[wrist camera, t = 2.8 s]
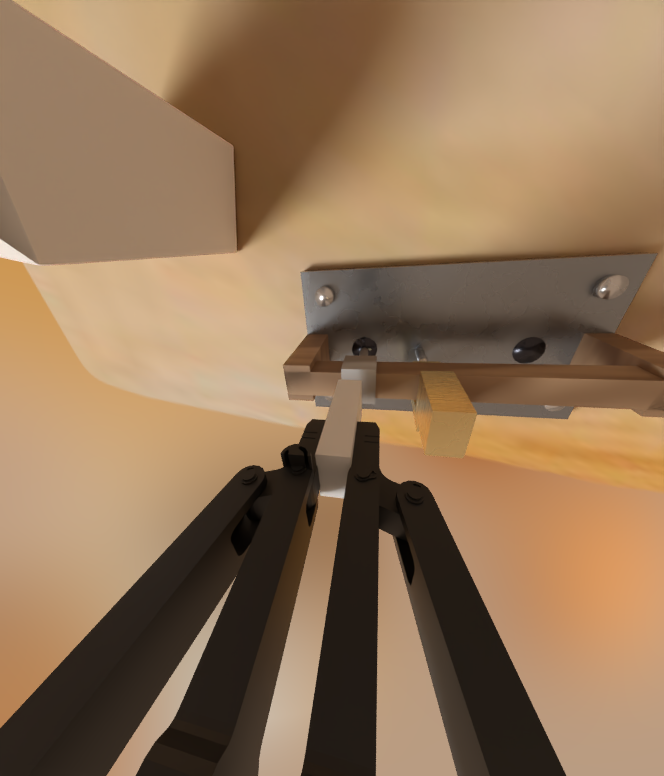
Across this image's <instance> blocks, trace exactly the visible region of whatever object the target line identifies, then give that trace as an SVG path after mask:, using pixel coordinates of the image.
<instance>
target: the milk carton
mask: <svg viewBox="0 0 664 776" xmlns="http://www.w3.org/2000/svg"><path fill="white" fill-rule="evenodd" d="M225 253H237V235H236V206H235V177H234V148H233V145H232V144H230V143H229V142H227V141H226V140H224V139H223V138H221V137H220V136H218V135H216V134H215V133H213V132H212V131H210V130H209V129H207V128H206V127H204V126H203V125H201V124H200V123H198V122H197V121H195V120H194V119H192V118H191V117H189V116H187V115H186V114H184V113H183V112H181V111H180V110H178V109H177V108H175V107H174V106H172V105H171V104H169V103H168V102H166V101H165V100H163V99H162V98H160V97H159V96H157V95H155V94H154V93H152V92H151V91H149V90H148V89H146V88H145V87H143V86H142V85H140V84H139V83H137V82H136V81H134V80H133V79H131V78H130V77H128V76H126V75H125V74H123V73H122V72H120V71H119V70H117V69H116V68H114V67H113V66H111V65H110V64H108V63H107V62H105V61H104V60H102V59H101V58H99V57H98V56H96V55H94V54H93V53H91V52H90V51H88V50H87V49H85V48H84V47H82V46H81V45H79V44H78V43H76V42H75V41H73V40H72V39H70V38H69V37H67V36H65V35H64V34H62V33H61V32H59V31H58V30H56V29H55V28H53V27H52V26H50V25H49V24H47V23H46V22H44V21H43V20H41V19H40V18H38V17H37V16H35V15H33V14H32V13H30V12H29V11H27V10H26V9H24V8H23V7H21V6H20V5H18V4H17V3H15V2H14V1H12V0H0V257H2V258H7V259H11V260H15V261H20V262H24V263H29V264H34V265H63V264H79V263H94V262H108V261H123V260H137V259H152V258H167V257H181V256H196V255H211V254H225Z"/></svg>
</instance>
